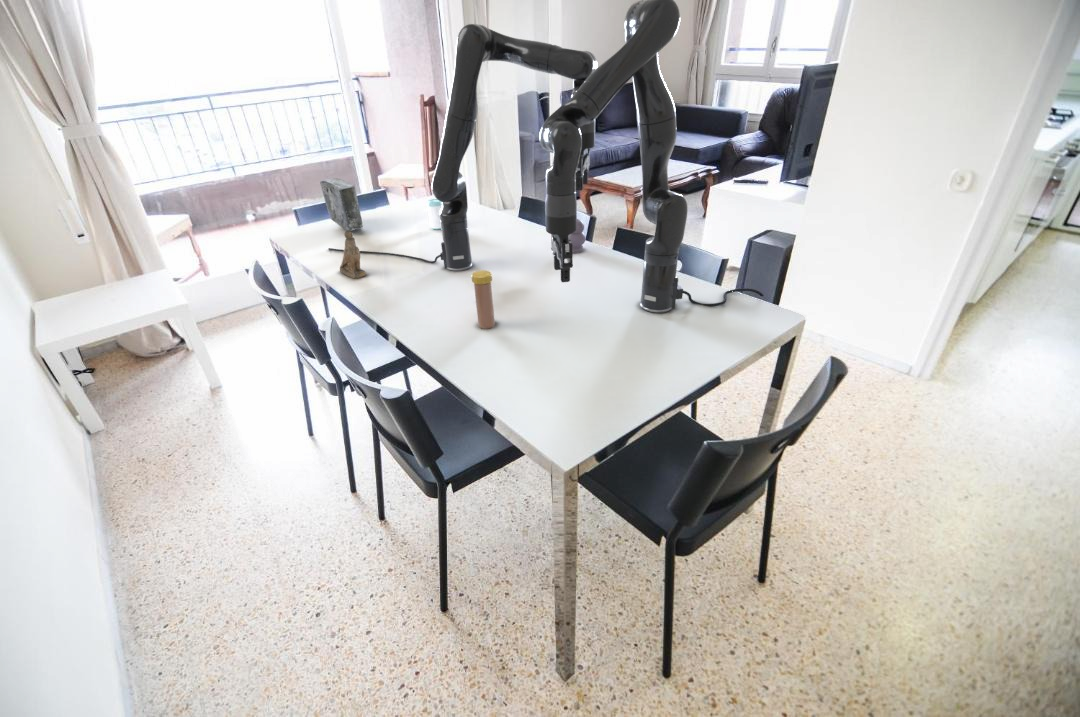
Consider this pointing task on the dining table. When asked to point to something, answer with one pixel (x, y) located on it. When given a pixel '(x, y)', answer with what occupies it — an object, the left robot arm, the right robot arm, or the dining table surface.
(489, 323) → the jar
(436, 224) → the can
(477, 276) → the lid
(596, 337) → the dining table surface
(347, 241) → the worn brown figurine
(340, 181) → the concrete block
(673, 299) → the right robot arm
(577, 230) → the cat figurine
